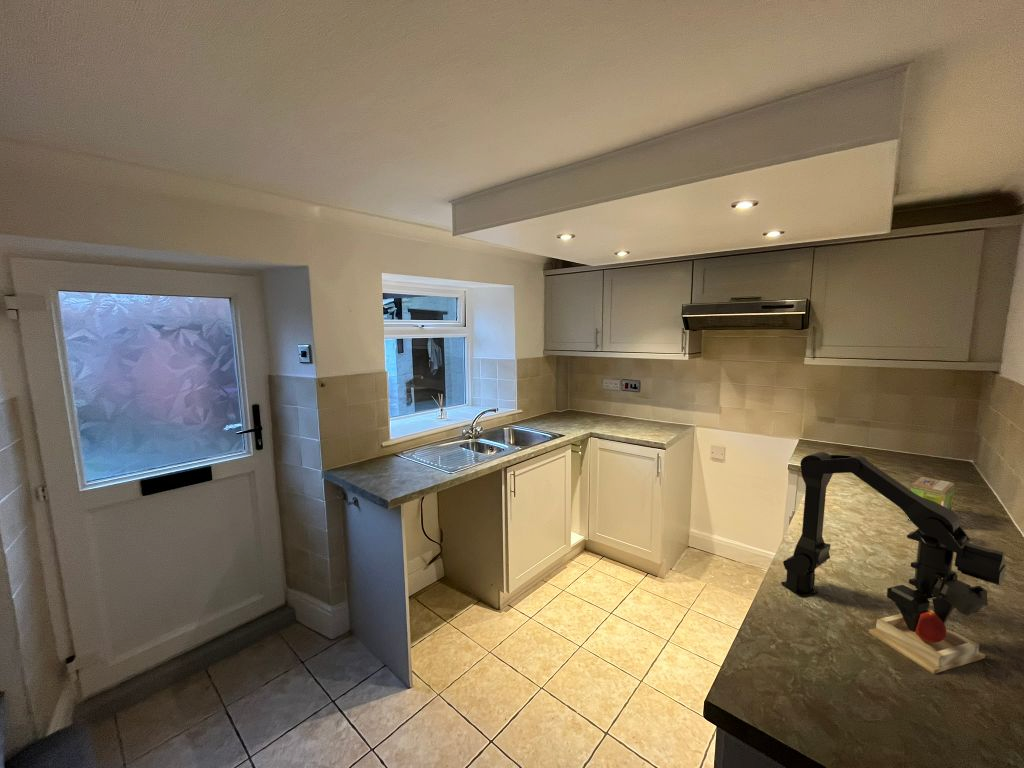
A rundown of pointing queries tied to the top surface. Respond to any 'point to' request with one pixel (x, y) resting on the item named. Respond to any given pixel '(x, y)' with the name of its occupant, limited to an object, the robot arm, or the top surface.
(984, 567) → the robot arm
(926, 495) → the tea box
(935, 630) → the onion
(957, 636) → the tray
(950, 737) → the top surface
